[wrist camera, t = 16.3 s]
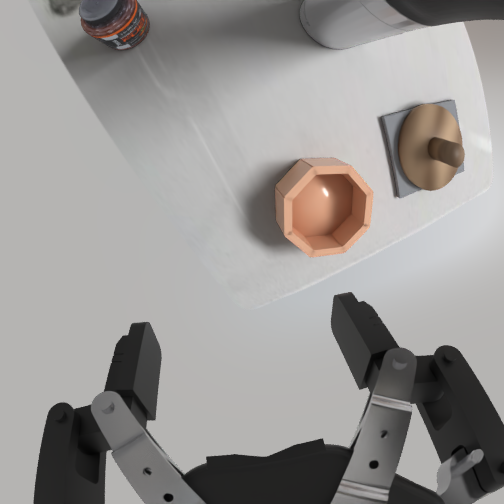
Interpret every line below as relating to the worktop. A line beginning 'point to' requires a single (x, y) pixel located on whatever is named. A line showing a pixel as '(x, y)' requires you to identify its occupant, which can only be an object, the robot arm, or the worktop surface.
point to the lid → (430, 146)
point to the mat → (392, 130)
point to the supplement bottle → (114, 22)
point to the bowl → (323, 206)
